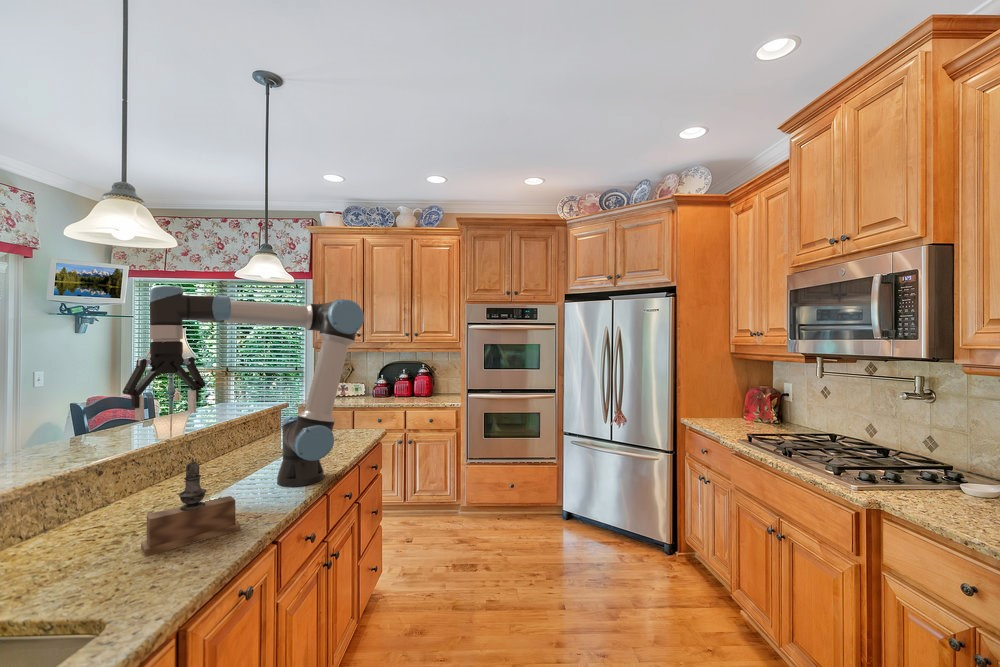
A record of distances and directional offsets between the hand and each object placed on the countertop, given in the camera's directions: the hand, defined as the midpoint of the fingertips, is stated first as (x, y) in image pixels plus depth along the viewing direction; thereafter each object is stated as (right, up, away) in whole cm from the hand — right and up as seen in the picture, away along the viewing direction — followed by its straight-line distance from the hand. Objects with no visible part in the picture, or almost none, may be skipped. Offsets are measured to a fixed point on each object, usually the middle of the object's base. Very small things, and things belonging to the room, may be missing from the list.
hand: (167, 416), depth 129 cm
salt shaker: (+16, -21, -14) cm, 30 cm away
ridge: (+17, -28, -14) cm, 36 cm away
